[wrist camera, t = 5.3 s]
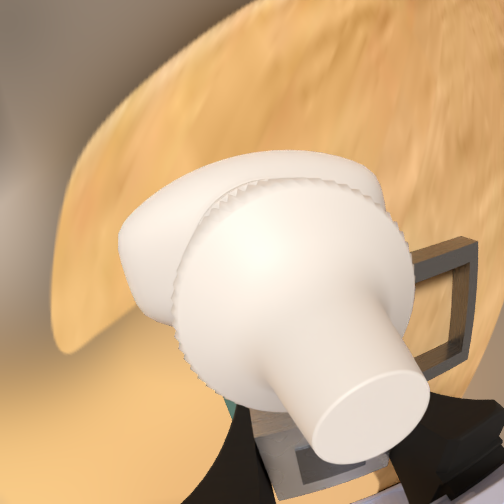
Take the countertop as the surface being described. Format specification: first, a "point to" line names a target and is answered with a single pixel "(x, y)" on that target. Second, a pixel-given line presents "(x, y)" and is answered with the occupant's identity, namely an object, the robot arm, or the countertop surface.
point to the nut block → (300, 458)
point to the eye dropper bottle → (286, 293)
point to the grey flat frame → (463, 302)
